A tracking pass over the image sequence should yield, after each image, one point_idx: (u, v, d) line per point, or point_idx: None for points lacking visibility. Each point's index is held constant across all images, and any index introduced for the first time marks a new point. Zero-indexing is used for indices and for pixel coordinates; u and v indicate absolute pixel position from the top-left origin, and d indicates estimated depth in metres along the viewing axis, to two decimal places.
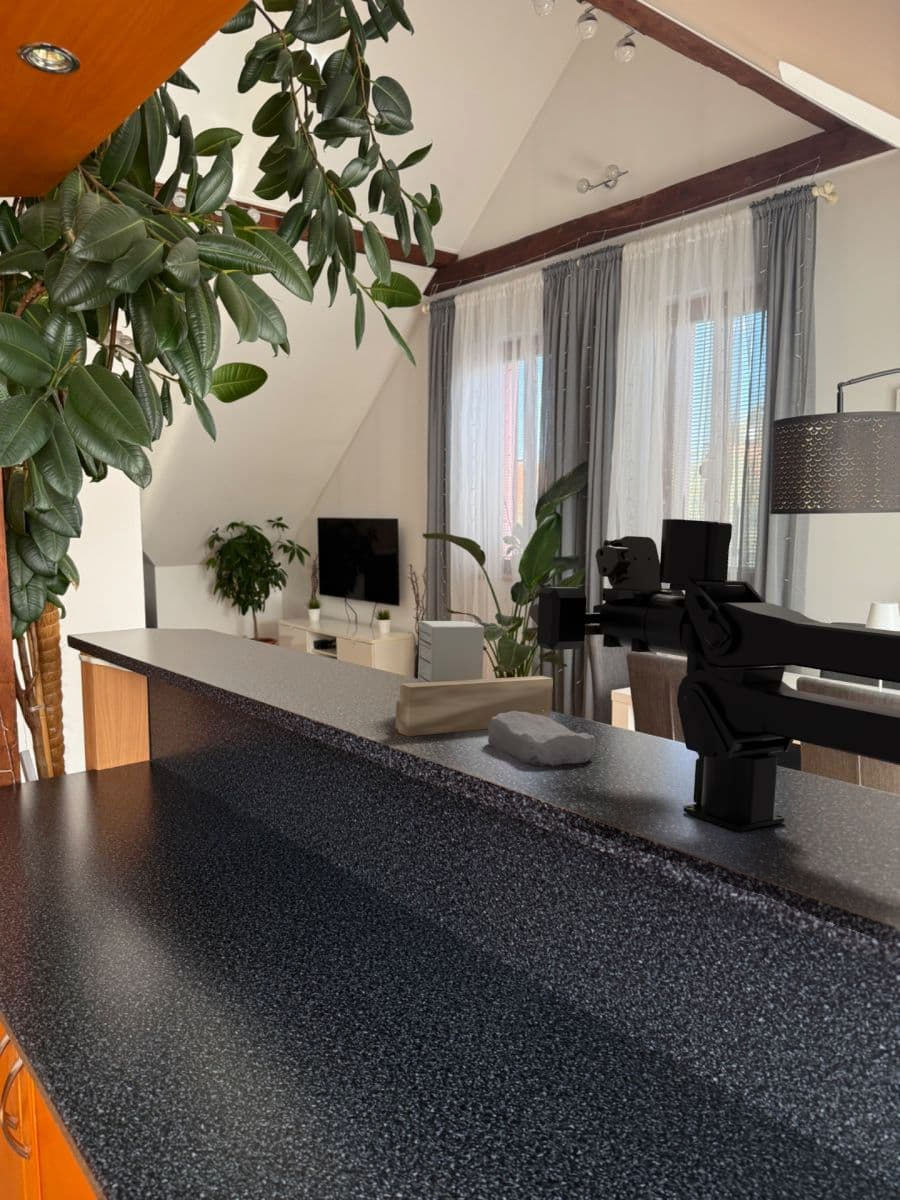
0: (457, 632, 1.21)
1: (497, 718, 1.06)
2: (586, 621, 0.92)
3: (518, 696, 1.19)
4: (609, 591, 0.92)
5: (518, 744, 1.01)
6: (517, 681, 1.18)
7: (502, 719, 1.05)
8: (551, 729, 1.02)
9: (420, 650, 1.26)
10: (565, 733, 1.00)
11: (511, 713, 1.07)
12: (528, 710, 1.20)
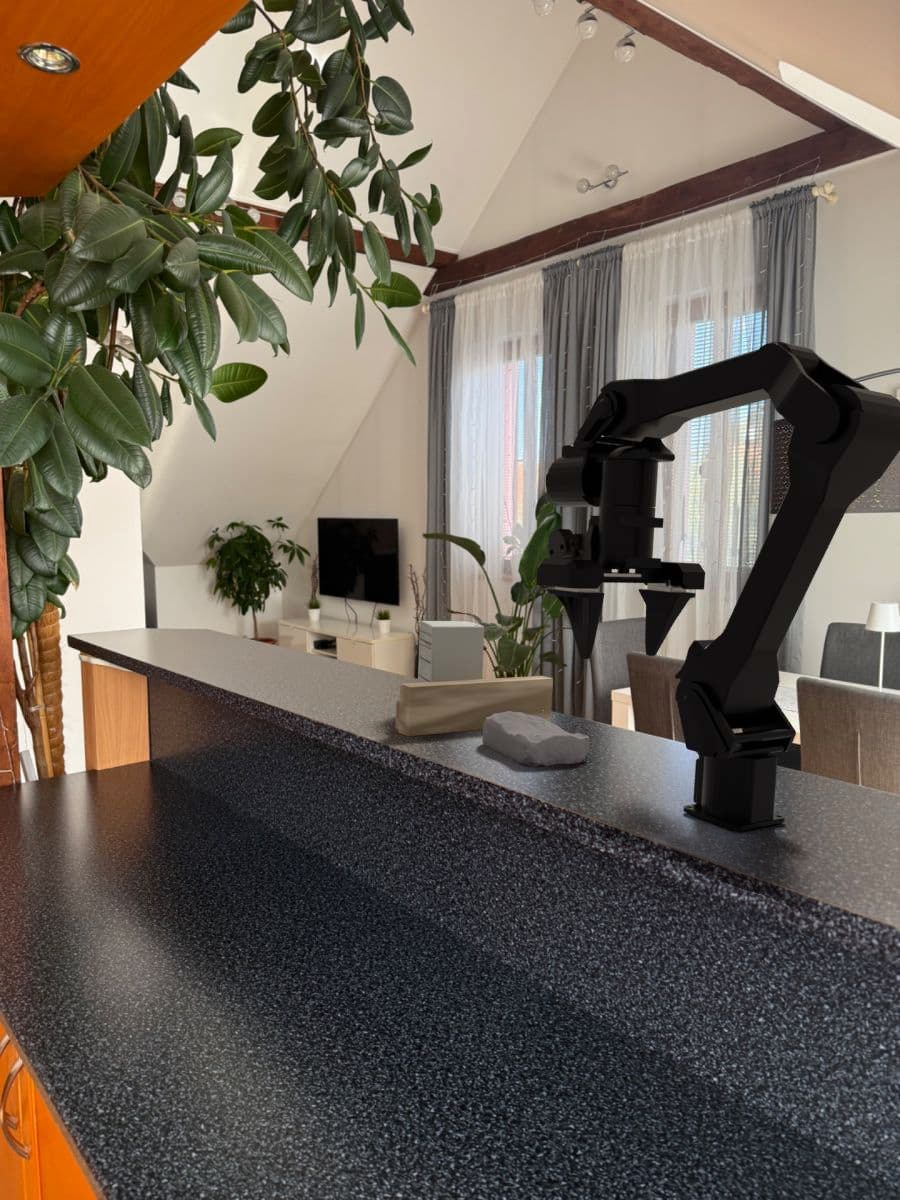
0: (457, 632, 1.21)
1: (491, 718, 1.05)
2: None
3: (518, 696, 1.19)
4: (584, 553, 0.95)
5: (512, 744, 1.00)
6: (517, 681, 1.18)
7: (497, 719, 1.05)
8: (545, 729, 1.02)
9: (420, 650, 1.26)
10: (559, 733, 1.00)
11: (505, 713, 1.06)
12: (528, 710, 1.20)
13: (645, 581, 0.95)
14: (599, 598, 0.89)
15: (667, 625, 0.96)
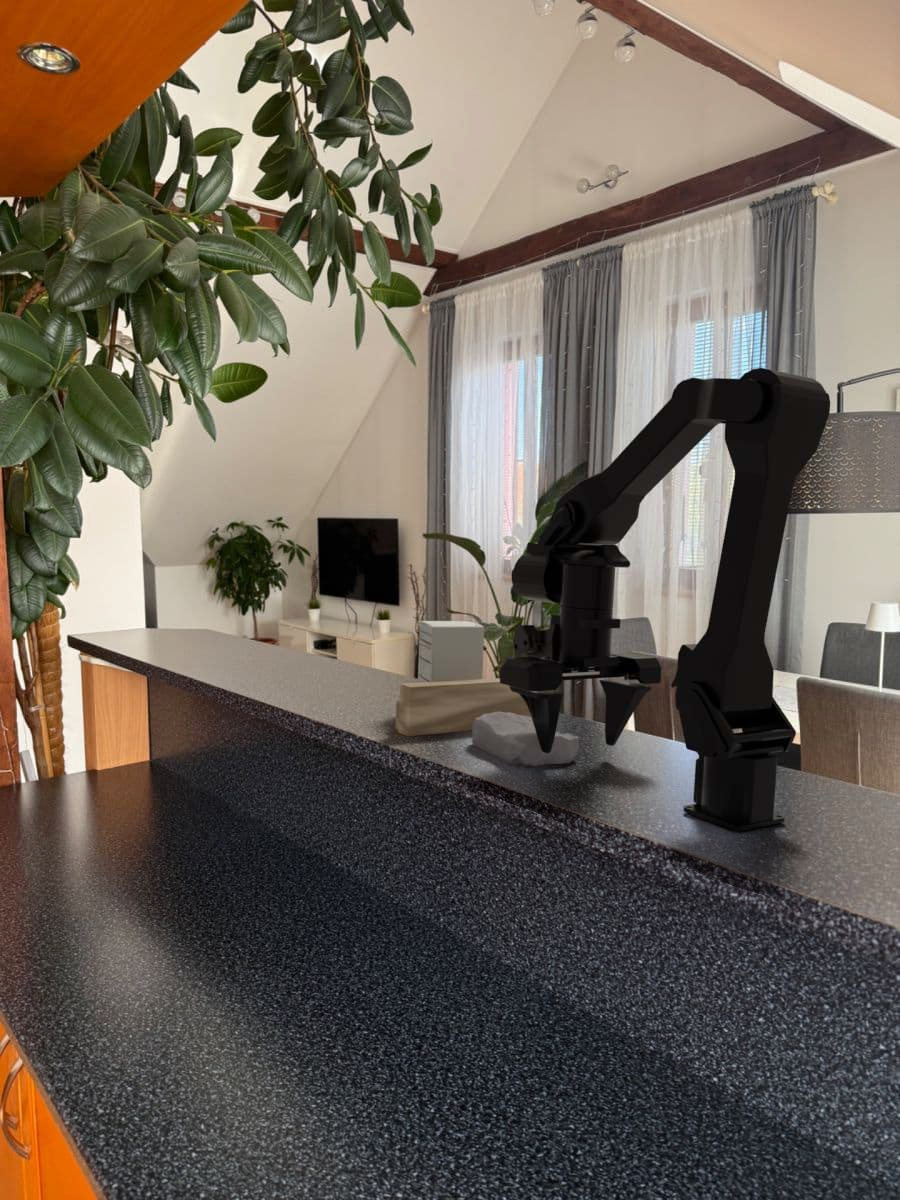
0: (457, 632, 1.21)
1: (481, 719, 1.05)
2: None
3: (518, 696, 1.19)
4: (546, 650, 1.00)
5: (501, 745, 1.00)
6: None
7: (486, 719, 1.04)
8: (535, 730, 1.02)
9: (420, 650, 1.26)
10: None
11: (495, 714, 1.06)
12: (528, 710, 1.20)
13: (604, 676, 1.01)
14: (557, 698, 0.94)
15: (625, 717, 1.01)
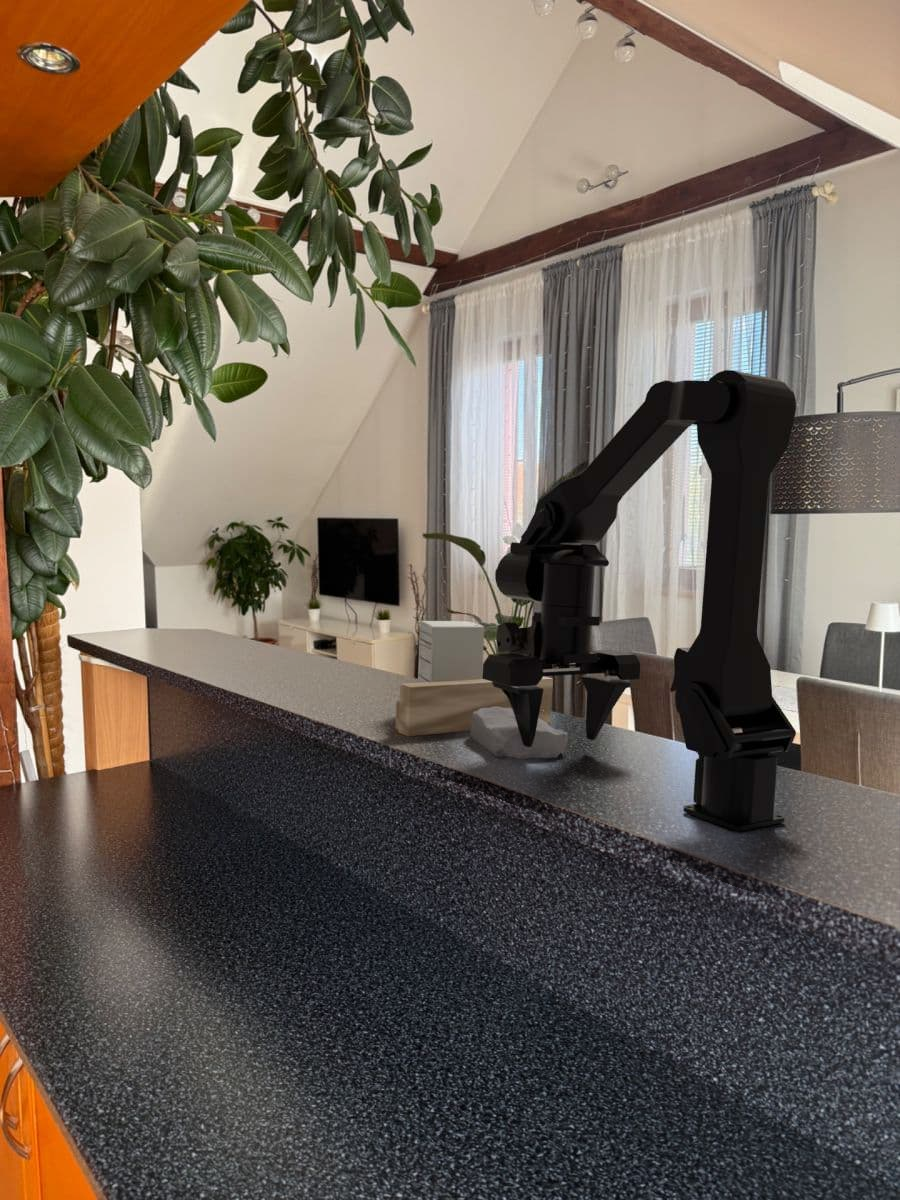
0: (457, 632, 1.21)
1: (476, 713, 1.09)
2: None
3: None
4: (528, 647, 1.03)
5: (489, 738, 1.04)
6: None
7: (481, 713, 1.08)
8: None
9: (420, 650, 1.26)
10: None
11: (491, 708, 1.09)
12: None
13: (584, 672, 1.03)
14: (538, 693, 0.97)
15: (605, 712, 1.04)
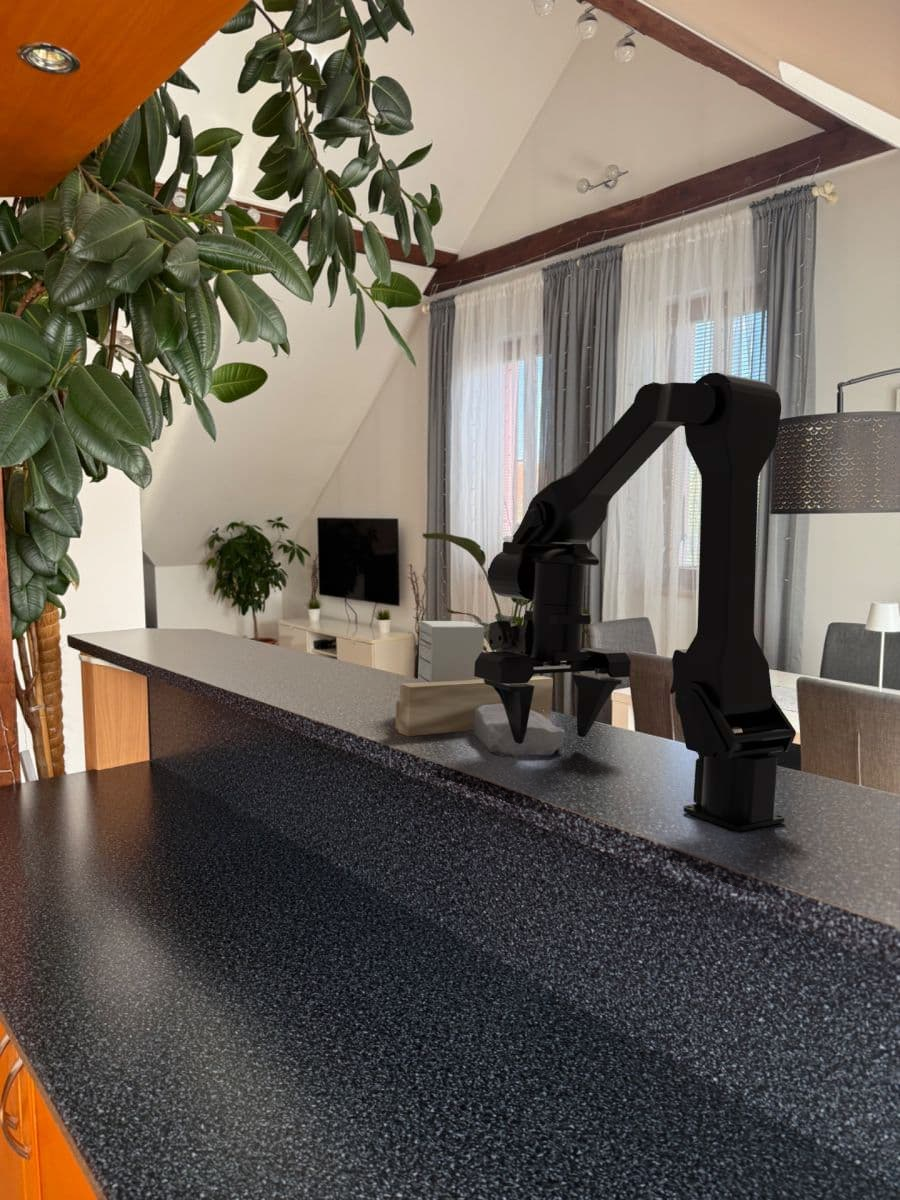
0: (457, 632, 1.21)
1: (478, 709, 1.11)
2: None
3: None
4: (520, 645, 1.04)
5: (486, 733, 1.05)
6: None
7: (482, 710, 1.10)
8: None
9: (420, 650, 1.26)
10: (530, 725, 1.04)
11: (493, 705, 1.11)
12: None
13: (575, 670, 1.05)
14: (529, 690, 0.98)
15: (596, 710, 1.05)
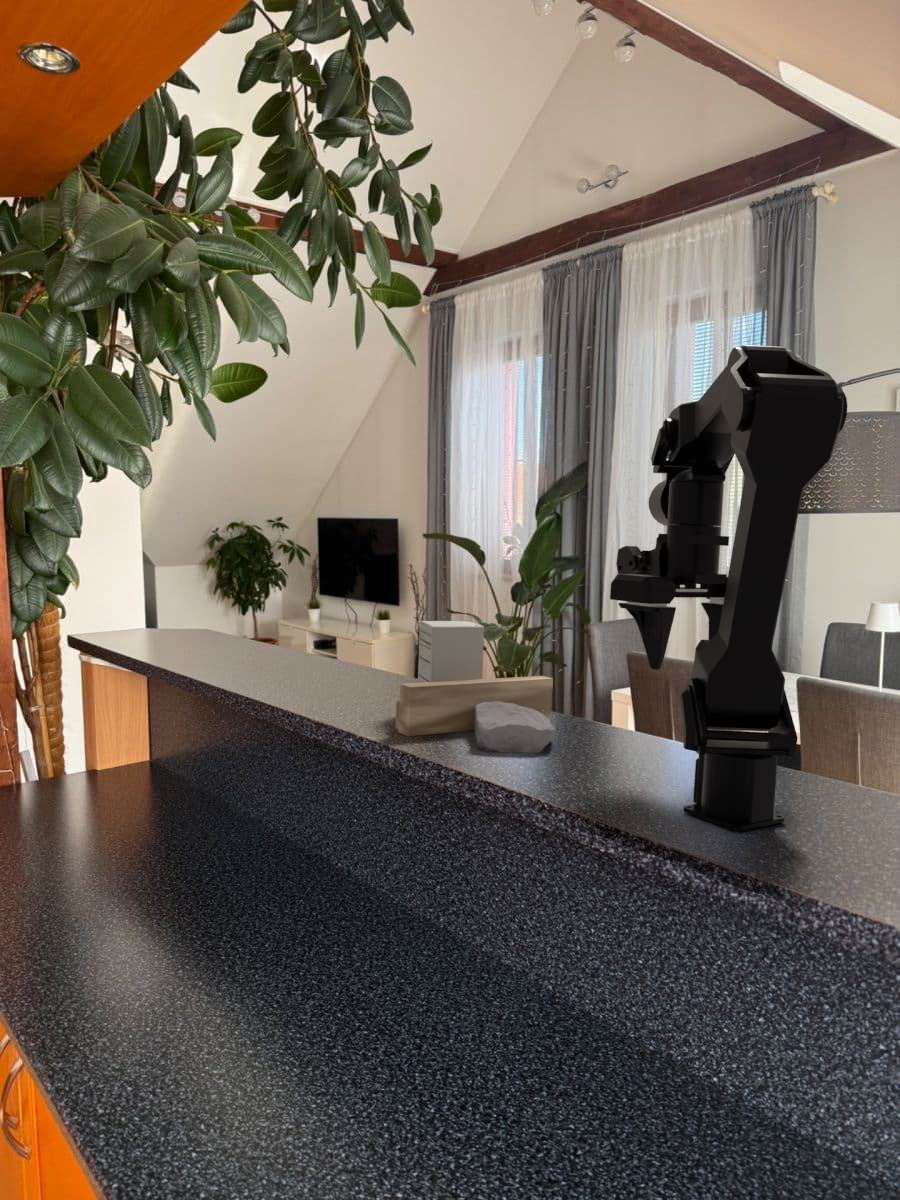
0: (457, 632, 1.21)
1: (476, 706, 1.13)
2: None
3: (518, 696, 1.19)
4: (653, 569, 1.00)
5: (477, 729, 1.07)
6: (517, 681, 1.18)
7: (478, 707, 1.12)
8: (513, 719, 1.07)
9: (420, 650, 1.26)
10: (517, 723, 1.05)
11: (492, 703, 1.13)
12: None
13: (710, 595, 1.01)
14: (670, 612, 0.94)
15: None
